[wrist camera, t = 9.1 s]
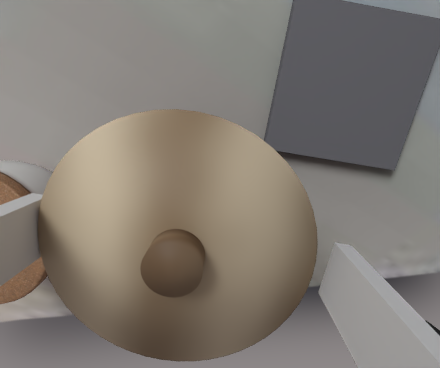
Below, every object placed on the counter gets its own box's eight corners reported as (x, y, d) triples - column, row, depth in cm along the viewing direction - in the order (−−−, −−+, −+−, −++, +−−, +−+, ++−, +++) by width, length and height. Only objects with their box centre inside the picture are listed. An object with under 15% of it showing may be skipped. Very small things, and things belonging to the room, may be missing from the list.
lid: (323, 135, 12) (375, 144, 8) (268, 327, 15) (285, 404, 11) (81, 91, 12) (3, 75, 7) (76, 297, 15) (20, 365, 11)
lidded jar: (122, 223, 24) (63, 283, 15) (42, 267, 26) (-56, 346, 17) (55, 129, 22) (-61, 135, 13) (-29, 183, 24) (-186, 223, 15)
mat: (437, 25, 19) (448, 20, 18) (387, 168, 23) (394, 170, 22) (293, -2, 19) (297, -8, 18) (262, 147, 22) (264, 148, 21)
